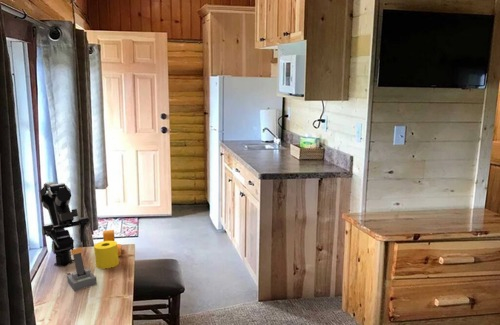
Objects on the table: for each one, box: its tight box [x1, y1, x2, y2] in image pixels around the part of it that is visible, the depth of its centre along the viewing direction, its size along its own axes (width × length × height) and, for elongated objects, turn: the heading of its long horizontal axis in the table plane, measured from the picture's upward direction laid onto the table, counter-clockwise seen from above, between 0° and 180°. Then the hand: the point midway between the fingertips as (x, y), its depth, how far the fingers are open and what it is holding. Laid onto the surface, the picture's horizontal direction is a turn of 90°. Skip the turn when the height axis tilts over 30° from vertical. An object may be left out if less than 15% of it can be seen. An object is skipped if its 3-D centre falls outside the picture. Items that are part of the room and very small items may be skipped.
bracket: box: [102, 229, 122, 257], centre depth 218 cm, size 11×7×12 cm, turn 14°
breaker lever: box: [70, 247, 85, 277], centre depth 188 cm, size 2×4×11 cm, turn 125°
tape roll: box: [93, 240, 120, 270], centre depth 206 cm, size 10×10×9 cm
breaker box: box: [66, 268, 98, 292], centre depth 188 cm, size 10×9×5 cm
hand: (70, 244), depth 190 cm, fingers open, 9 cm apart
